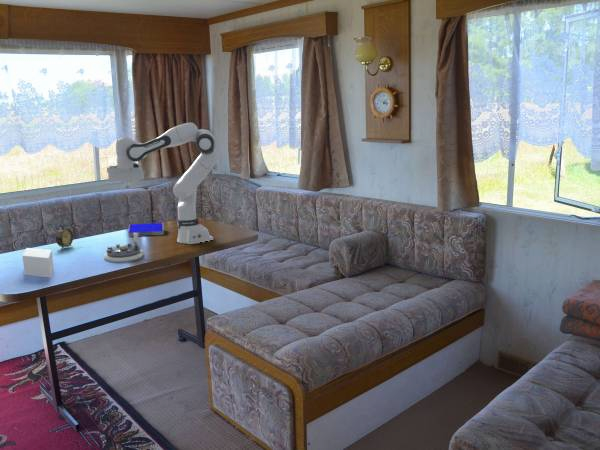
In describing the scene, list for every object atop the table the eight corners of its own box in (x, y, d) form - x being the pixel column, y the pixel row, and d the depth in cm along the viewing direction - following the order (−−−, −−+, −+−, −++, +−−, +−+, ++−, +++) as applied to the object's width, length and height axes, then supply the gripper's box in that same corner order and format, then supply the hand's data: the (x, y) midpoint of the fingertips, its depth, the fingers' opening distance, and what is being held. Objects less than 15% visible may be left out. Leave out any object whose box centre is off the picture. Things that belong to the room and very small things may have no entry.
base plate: (141, 250, 320) (140, 239, 319) (145, 259, 301) (144, 248, 299) (103, 254, 313) (102, 243, 311) (104, 263, 294) (103, 252, 292)
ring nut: (146, 252, 307) (145, 233, 305) (118, 259, 294) (116, 239, 291) (128, 247, 319) (126, 228, 316) (100, 253, 305) (98, 234, 303)
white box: (35, 281, 267) (33, 261, 264) (14, 269, 287) (12, 250, 284) (65, 274, 277) (63, 255, 275) (42, 263, 297) (40, 245, 294)
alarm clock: (63, 250, 321) (60, 224, 317) (55, 250, 322) (52, 223, 318) (74, 246, 331) (71, 220, 328) (66, 245, 332) (63, 219, 329)
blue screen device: (164, 230, 370) (164, 220, 368) (163, 235, 357) (162, 224, 355) (131, 232, 366) (130, 222, 365) (128, 237, 353) (127, 226, 351)
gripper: (106, 166, 315) (108, 190, 318) (143, 164, 322) (144, 187, 325) (106, 165, 321) (108, 188, 324) (142, 163, 328) (143, 186, 331)
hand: (127, 188), depth 325 cm, fingers closed
